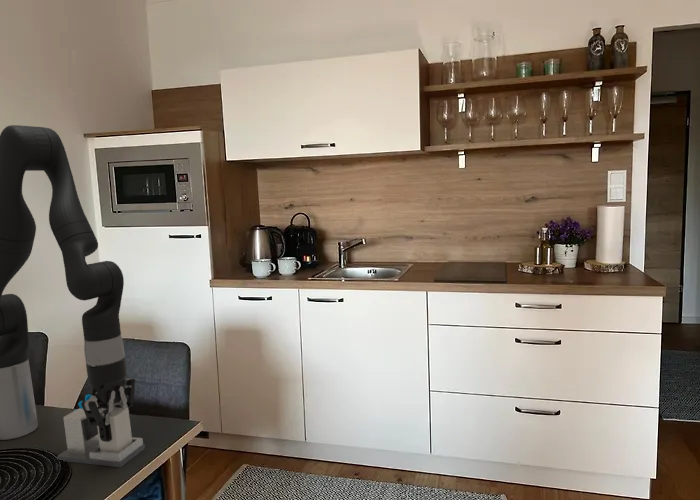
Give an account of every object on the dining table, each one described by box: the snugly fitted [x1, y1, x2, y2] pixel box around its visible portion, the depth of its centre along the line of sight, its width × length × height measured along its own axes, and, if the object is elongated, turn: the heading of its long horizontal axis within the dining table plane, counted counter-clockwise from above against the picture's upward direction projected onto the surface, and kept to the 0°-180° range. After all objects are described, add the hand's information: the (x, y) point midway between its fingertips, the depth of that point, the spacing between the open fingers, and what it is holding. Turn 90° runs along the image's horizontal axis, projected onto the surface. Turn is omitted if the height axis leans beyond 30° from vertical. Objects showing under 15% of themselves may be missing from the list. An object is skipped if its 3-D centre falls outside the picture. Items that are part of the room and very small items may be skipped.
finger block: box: [97, 406, 133, 453], centre depth 118 cm, size 4×5×8 cm
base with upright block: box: [56, 408, 146, 468], centre depth 119 cm, size 16×8×9 cm, turn 74°
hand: (114, 434), depth 118 cm, fingers closed on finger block, 4 cm apart
